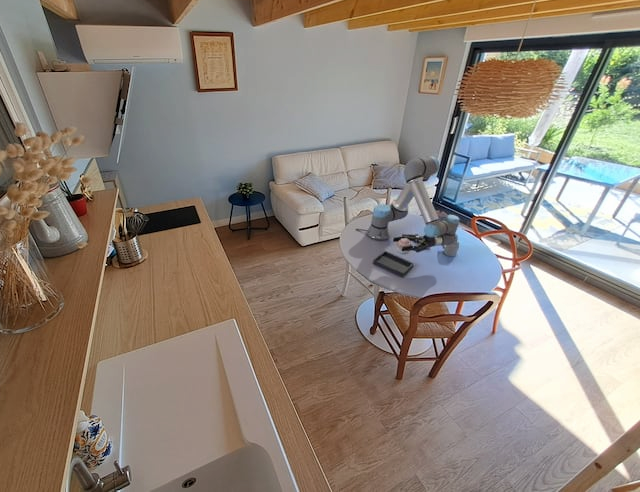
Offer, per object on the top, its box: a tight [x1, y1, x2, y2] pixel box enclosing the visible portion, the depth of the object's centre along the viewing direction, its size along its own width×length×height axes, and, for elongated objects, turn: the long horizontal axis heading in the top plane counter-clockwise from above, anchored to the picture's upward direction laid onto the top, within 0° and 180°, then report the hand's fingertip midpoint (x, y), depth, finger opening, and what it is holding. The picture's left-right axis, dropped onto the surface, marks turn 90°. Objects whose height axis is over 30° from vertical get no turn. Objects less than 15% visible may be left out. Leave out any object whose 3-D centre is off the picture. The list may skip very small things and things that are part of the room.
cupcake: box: [395, 238, 413, 255], centre depth 171 cm, size 9×9×10 cm
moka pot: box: [435, 209, 448, 221], centre depth 210 cm, size 10×15×20 cm, turn 27°
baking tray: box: [372, 250, 414, 278], centre depth 181 cm, size 20×15×3 cm
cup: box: [441, 240, 461, 258], centre depth 190 cm, size 7×10×9 cm
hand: (397, 244), depth 170 cm, fingers closed on cupcake, 9 cm apart
